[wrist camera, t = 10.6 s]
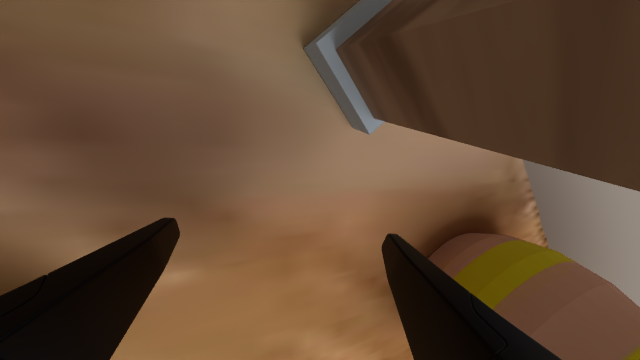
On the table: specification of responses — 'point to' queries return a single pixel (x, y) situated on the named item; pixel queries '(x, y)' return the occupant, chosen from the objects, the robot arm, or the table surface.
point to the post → (510, 78)
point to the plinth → (333, 68)
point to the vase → (545, 296)
